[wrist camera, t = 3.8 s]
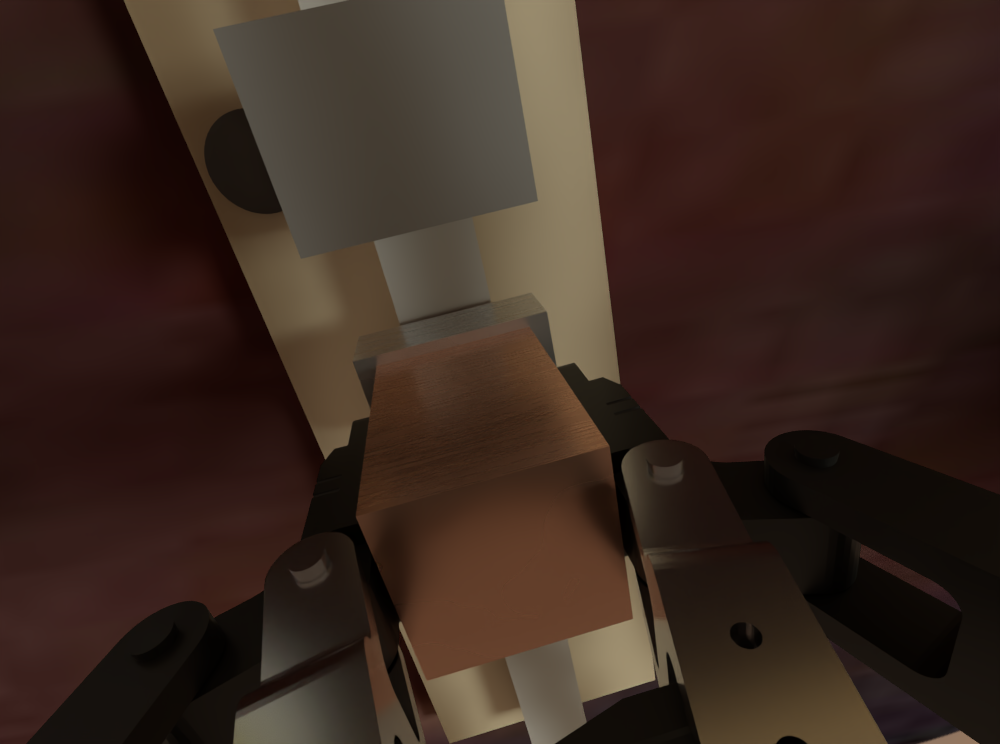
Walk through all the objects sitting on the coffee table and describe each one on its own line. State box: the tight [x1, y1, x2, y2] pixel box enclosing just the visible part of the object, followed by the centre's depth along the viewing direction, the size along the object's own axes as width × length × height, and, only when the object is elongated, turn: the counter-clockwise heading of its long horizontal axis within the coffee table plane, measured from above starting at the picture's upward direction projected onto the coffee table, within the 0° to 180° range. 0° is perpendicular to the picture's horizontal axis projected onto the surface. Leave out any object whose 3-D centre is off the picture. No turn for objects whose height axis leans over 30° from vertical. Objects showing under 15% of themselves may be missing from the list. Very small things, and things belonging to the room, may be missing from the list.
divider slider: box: [353, 293, 633, 681], centre depth 11 cm, size 4×4×9 cm
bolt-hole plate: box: [124, 0, 655, 744], centre depth 16 cm, size 10×30×6 cm, turn 12°
